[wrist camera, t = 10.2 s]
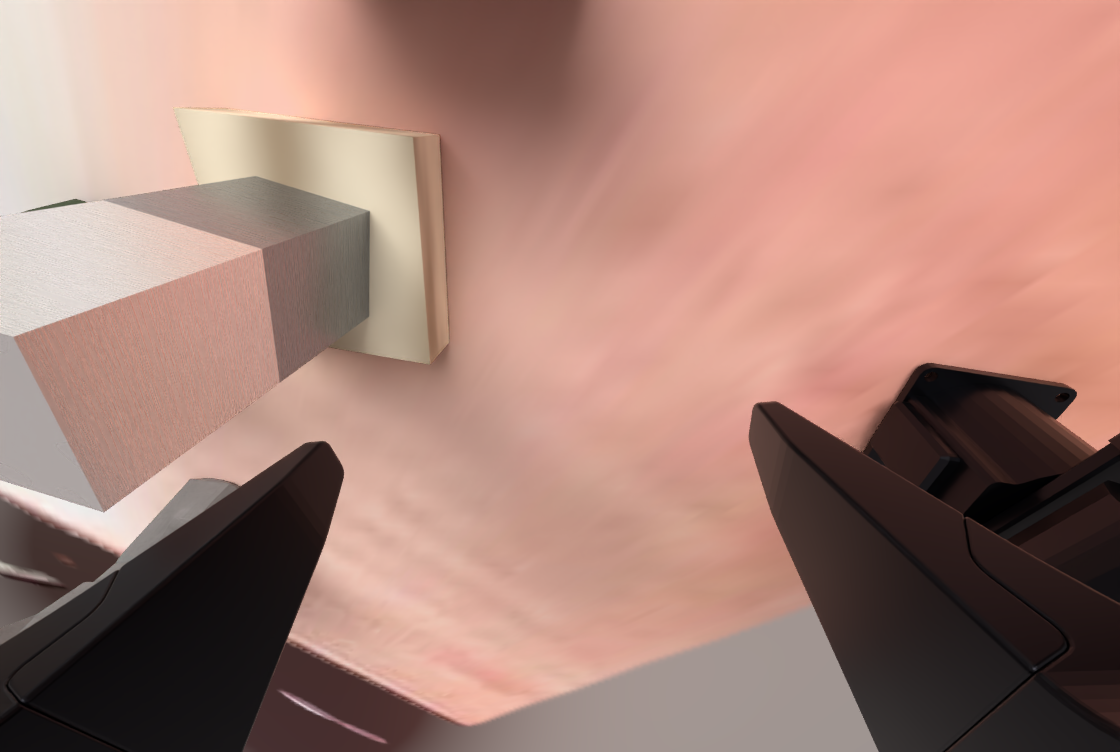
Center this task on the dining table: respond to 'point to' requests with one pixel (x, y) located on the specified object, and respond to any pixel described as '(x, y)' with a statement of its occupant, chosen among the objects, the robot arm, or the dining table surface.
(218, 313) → the block
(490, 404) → the dining table surface
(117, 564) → the coffeepot
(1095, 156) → the dining table surface
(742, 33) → the dining table surface
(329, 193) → the stand
